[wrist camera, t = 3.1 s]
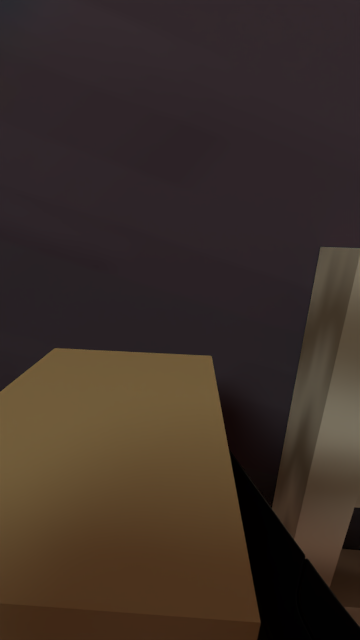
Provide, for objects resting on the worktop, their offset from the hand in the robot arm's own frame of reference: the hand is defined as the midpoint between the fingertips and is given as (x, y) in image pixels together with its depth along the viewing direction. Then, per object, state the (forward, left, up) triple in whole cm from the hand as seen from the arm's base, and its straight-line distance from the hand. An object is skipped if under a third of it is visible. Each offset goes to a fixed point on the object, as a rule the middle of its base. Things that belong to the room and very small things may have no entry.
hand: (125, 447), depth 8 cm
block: (0, 0, -1) cm, 1 cm away
